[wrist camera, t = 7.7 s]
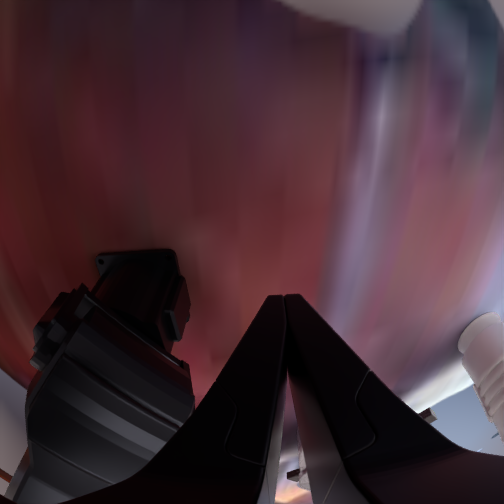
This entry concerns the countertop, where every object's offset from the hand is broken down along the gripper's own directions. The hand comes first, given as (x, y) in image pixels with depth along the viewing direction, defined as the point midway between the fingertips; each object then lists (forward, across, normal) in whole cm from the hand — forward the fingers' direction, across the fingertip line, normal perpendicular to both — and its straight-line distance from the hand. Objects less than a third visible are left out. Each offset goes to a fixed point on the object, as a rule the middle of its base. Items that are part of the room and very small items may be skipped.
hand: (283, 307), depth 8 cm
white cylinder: (+13, -22, +17) cm, 31 cm away
